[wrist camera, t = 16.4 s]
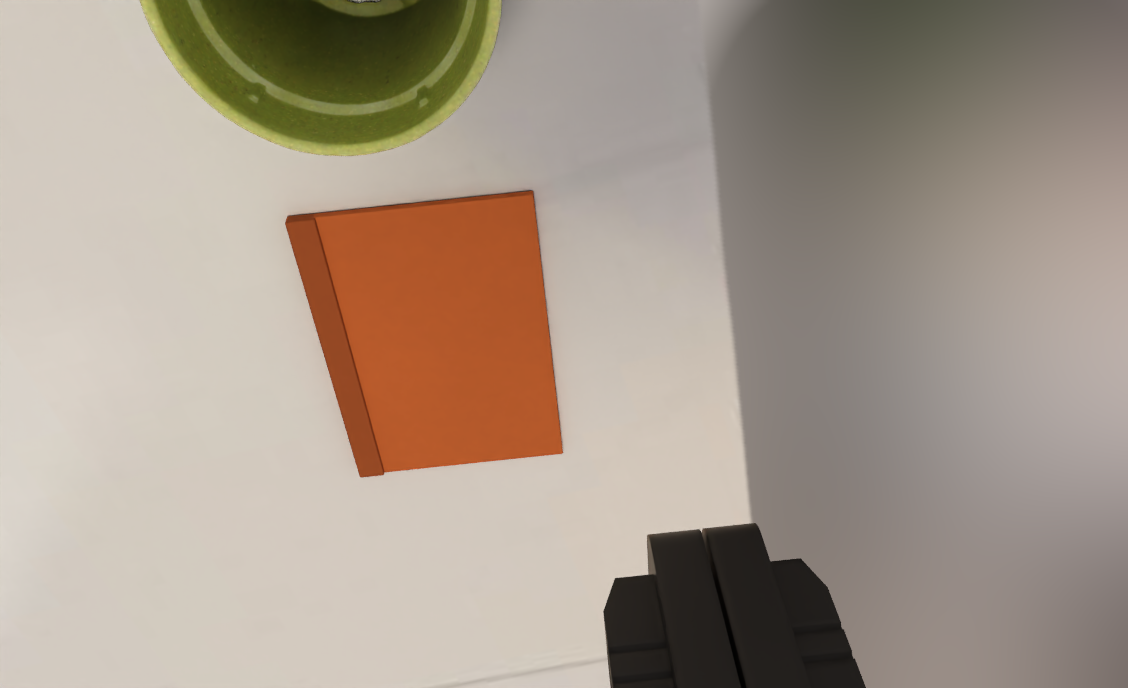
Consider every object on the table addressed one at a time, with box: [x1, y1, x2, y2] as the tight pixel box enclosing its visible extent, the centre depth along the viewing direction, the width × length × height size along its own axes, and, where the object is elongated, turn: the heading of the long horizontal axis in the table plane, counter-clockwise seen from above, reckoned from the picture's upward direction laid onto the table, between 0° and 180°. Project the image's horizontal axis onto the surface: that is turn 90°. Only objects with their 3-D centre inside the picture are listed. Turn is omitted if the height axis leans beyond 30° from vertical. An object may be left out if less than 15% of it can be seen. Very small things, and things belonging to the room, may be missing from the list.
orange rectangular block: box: [285, 191, 563, 477], centre depth 40 cm, size 14×10×1 cm
